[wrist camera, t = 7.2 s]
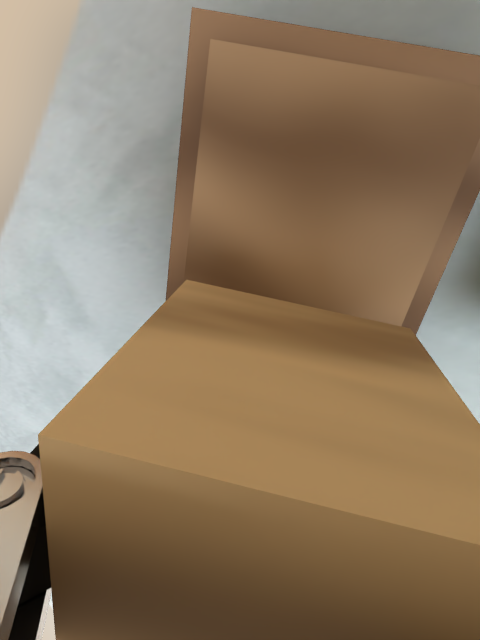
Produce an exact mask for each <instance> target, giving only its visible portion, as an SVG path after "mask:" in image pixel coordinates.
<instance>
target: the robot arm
mask: <svg viewBox="0 0 480 640" xmlns="http://www.w3.org/2000/svg"><path fill="white" fill-rule="evenodd" d="M51 592H52V589H51V578H50V566H49V555H48V543H47V532H46V520H45V509H44V497H43V486H42V475H41V463H40V452H39V444H38V445H37V446H36V447H35V449H34V450H33V451H32V452H31V453H27V452H22V451H8V452H1V453H0V640H41V639H42V634H43V630H44V625H45V620H46V615H47V610H48V606H49V601H50V596H51Z"/></svg>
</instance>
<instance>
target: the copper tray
mask: <svg viewBox="0 0 480 640" xmlns="http://www.w3.org/2000/svg"><path fill="white" fill-rule="evenodd" d="M479 191H480V56H479V55H473V54H467V53H461V52H455V51H449V50H443V49H437V48H431V47H425V46H419V45H413V44H407V43H401V42H395V41H389V40H383V39H377V38H371V37H366V36H360V35H354V34H348V33H342V32H336V31H330V30H324V29H318V28H312V27H306V26H300V25H294V24H288V23H282V22H276V21H270V20H264V19H258V18H252V17H246V16H240V15H234V14H228V13H222V12H216V11H210V10H205V9H199V8H193V7H192V13H191V24H190V35H189V46H188V58H187V69H186V80H185V91H184V102H183V113H182V125H181V136H180V147H179V158H178V169H177V181H176V192H175V203H174V214H173V225H172V236H171V248H170V259H169V270H168V281H167V292H166V301H167V299H168V298H169V297H170V296H171V295H172V294H173V293H174V292H175V291H176V290H177V289H178V288H179V287H180V286H181V285H182V284H183V283H184V282H185V281H186V280H190V281H195V282H199V283H204V284H209V285H213V286H218V287H222V288H227V289H232V290H236V291H241V292H245V293H250V294H255V295H259V296H264V297H268V298H273V299H277V300H282V301H287V302H291V303H296V304H300V305H305V306H310V307H314V308H319V309H323V310H328V311H333V312H337V313H342V314H346V315H351V316H355V317H360V318H365V319H369V320H374V321H378V322H383V323H388V324H392V325H397V326H401V327H406V328H410V329H411V330H412V331H413V333H414V334H415V335H416V333H417V331H418V329H419V326H420V324H421V322H422V319H423V317H424V315H425V313H426V310H427V308H428V306H429V304H430V301H431V299H432V297H433V295H434V292H435V290H436V288H437V286H438V283H439V281H440V279H441V277H442V274H443V272H444V270H445V268H446V265H447V263H448V261H449V259H450V256H451V254H452V252H453V250H454V247H455V245H456V243H457V241H458V238H459V236H460V234H461V232H462V229H463V227H464V225H465V222H466V220H467V218H468V216H469V213H470V211H471V209H472V207H473V204H474V202H475V200H476V198H477V195H478V193H479Z"/></svg>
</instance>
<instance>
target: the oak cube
mask: <svg viewBox="0 0 480 640" xmlns="http://www.w3.org/2000/svg"><path fill="white" fill-rule="evenodd" d="M38 440H39V452H40V463H41V475H42V486H43V497H44V509H45V520H46V532H47V543H48V555H49V566H50V578H51V589H52V601H53V612H54V623H55V635H56V640H480V424H479V423H478V422H477V420H476V419H475V417H474V416H473V415H472V413H471V412H470V410H469V409H468V408H467V406H466V405H465V403H464V402H463V401H462V399H461V398H460V397H459V395H458V394H457V392H456V391H455V390H454V388H453V387H452V385H451V384H450V383H449V381H448V380H447V379H446V377H445V376H444V374H443V373H442V372H441V370H440V369H439V367H438V366H437V365H436V363H435V362H434V361H433V359H432V358H431V356H430V355H429V354H428V352H427V351H426V349H425V348H424V347H423V345H422V344H421V342H420V341H419V340H418V338H417V337H416V336H415V334H414V333H413V331H412V330H411V329H410V328H406V327H401V326H397V325H392V324H388V323H383V322H378V321H374V320H369V319H365V318H360V317H355V316H351V315H346V314H342V313H337V312H333V311H328V310H323V309H319V308H314V307H310V306H305V305H300V304H296V303H291V302H287V301H282V300H277V299H273V298H268V297H264V296H259V295H255V294H250V293H245V292H241V291H236V290H232V289H227V288H222V287H218V286H213V285H209V284H204V283H199V282H195V281H190V280H186V281H185V282H184V283H183V284H182V285H181V286H180V287H179V288H178V289H177V290H176V291H175V292H174V293H173V294H172V295H171V296H170V297H169V298H168V299H167V301H166V302H165V303H164V304H163V305H162V306H161V307H160V308H159V309H158V310H157V311H156V312H155V313H154V314H153V315H152V316H151V317H150V318H149V319H148V320H147V321H146V322H145V324H144V325H143V326H142V327H141V328H140V329H139V330H138V331H137V332H136V333H135V334H134V335H133V336H132V337H131V338H130V339H129V340H128V341H127V342H126V343H125V344H124V345H123V347H122V348H121V349H120V350H119V351H118V352H117V353H116V354H115V355H114V356H113V357H112V358H111V359H110V360H109V361H108V362H107V363H106V364H105V365H104V366H103V367H102V368H101V370H100V371H99V372H98V373H97V374H96V375H95V376H94V377H93V378H92V379H91V380H90V381H89V382H88V383H87V384H86V385H85V386H84V387H83V388H82V389H81V390H80V391H79V392H78V394H77V395H76V396H75V397H74V398H73V399H72V400H71V401H70V402H69V403H68V404H67V405H66V406H65V407H64V408H63V409H62V410H61V411H60V412H59V413H58V414H57V415H56V417H55V418H54V419H53V420H52V421H51V422H50V423H49V424H48V425H47V426H46V427H45V428H44V429H43V430H42V431H41V432H40V433H39V434H38Z"/></svg>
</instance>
